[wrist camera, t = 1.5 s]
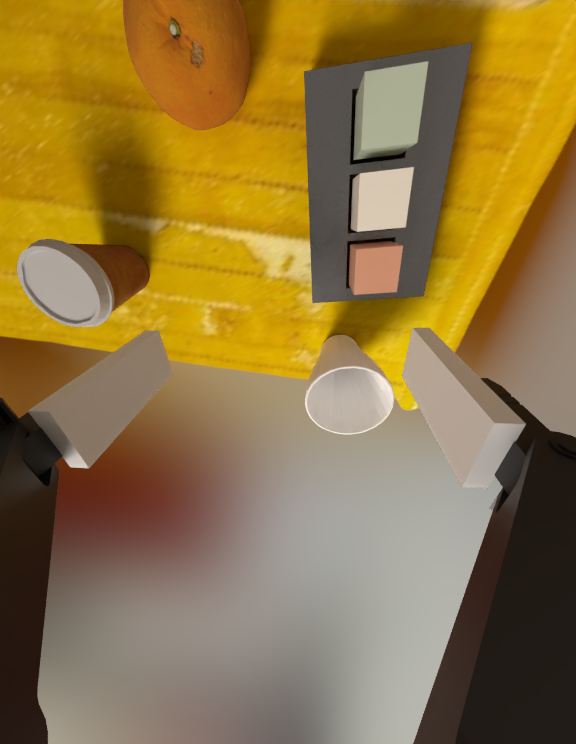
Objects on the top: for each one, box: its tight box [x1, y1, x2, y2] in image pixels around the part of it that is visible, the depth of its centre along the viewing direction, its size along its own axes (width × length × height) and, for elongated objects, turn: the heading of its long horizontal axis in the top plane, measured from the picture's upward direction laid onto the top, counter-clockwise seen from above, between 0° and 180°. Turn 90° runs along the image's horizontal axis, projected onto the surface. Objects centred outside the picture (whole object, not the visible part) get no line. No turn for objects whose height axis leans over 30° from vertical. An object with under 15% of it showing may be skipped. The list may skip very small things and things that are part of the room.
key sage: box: [353, 61, 428, 160], centre depth 22 cm, size 5×5×5 cm
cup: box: [305, 335, 394, 434], centre depth 36 cm, size 10×10×14 cm
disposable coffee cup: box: [17, 239, 149, 327], centre depth 32 cm, size 10×10×12 cm
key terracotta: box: [349, 241, 403, 295], centre depth 29 cm, size 5×5×5 cm
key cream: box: [351, 167, 414, 232], centre depth 26 cm, size 5×5×5 cm
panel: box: [304, 43, 472, 303], centre depth 29 cm, size 21×14×4 cm, turn 5°
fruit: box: [123, 0, 250, 130], centre depth 23 cm, size 10×10×8 cm
